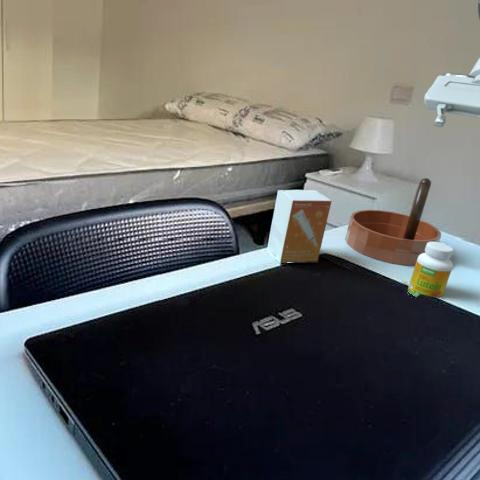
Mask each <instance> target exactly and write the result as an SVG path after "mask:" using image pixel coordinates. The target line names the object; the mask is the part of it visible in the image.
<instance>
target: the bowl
mask: <svg viewBox="0 0 480 480" xmlns="http://www.w3.org/2000/svg"><path fill="white" fill-rule="evenodd" d="M409 217H410V215H408V214H403V213H400V212H395V211H388V210H381V209H361V210H357V211H354V212H353V213H351V215H350V218H349V222H348V225H347V229H346V234H345V238H344V239H345V242H346V244H347V246H349V247H350V248H351V249H352V250H354V251H356V252H358V253H359V254H361V255H363V256H366V257H369V258H371V259H374V260H377V261H380V262H385V263H388V264H393V265H394V264H395V265H400V266H414V267H415V264H416V261H417V259H418V256H419V255H420V254H422V253H426V252H425V248H426V245H427V243H428V242H440V241H441V239H442V232H441V231H440V229H438V228H437V227H436V226H434V225H433V224H431V223H429V222H427V221H425V220H423V219H420V222H419V226H418V229H417V232H416V235H415V239H414V240H409V239H403V237H404V234H405V231H406V227H407V224H408V220H409Z"/></svg>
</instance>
